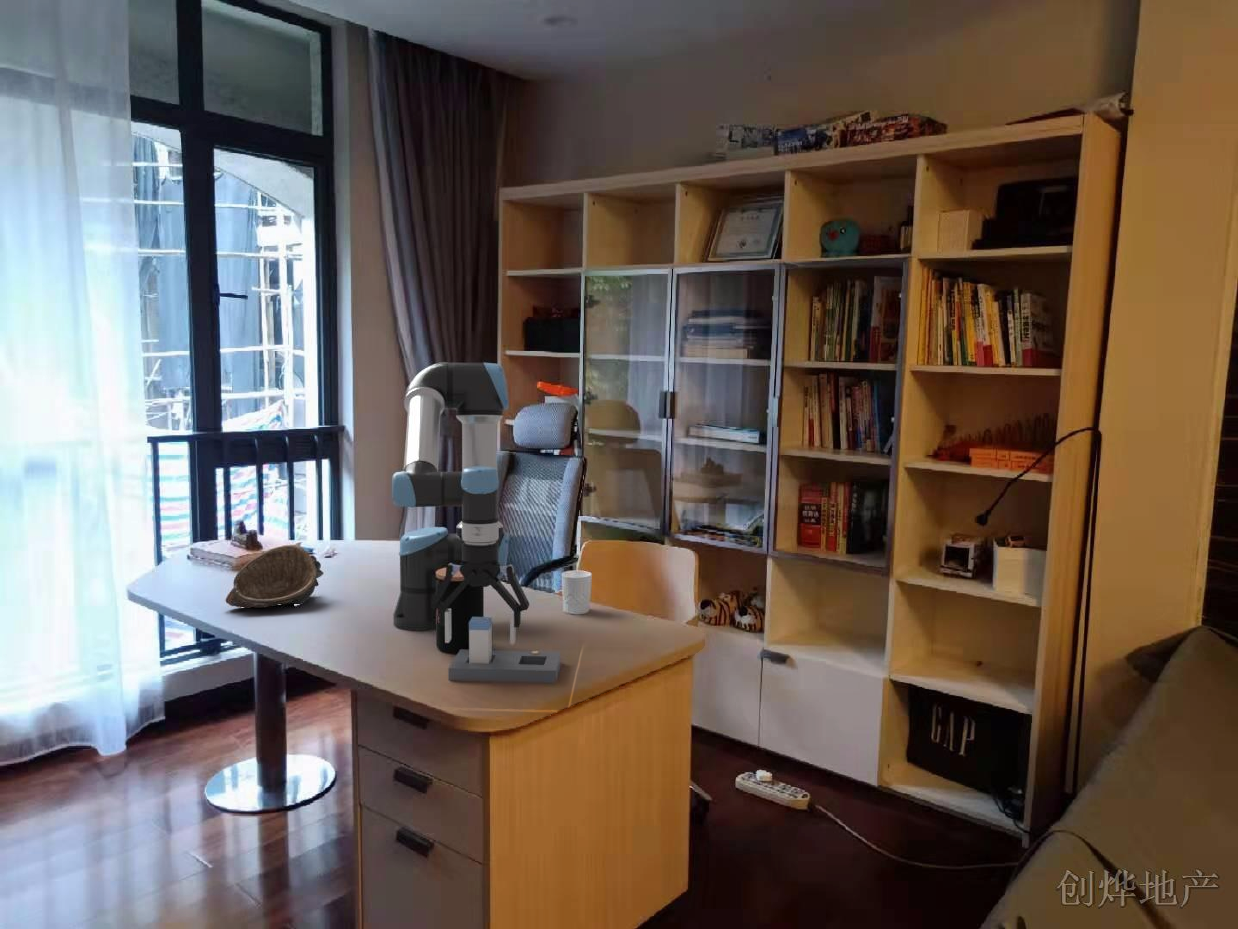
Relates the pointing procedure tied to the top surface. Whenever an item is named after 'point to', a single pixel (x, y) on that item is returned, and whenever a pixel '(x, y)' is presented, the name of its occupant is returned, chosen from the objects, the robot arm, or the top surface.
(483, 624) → the milk carton
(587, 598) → the white cup
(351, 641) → the top surface
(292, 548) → the coconut shell half
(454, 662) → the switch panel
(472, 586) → the robot arm
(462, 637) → the coffee jar
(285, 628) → the top surface
